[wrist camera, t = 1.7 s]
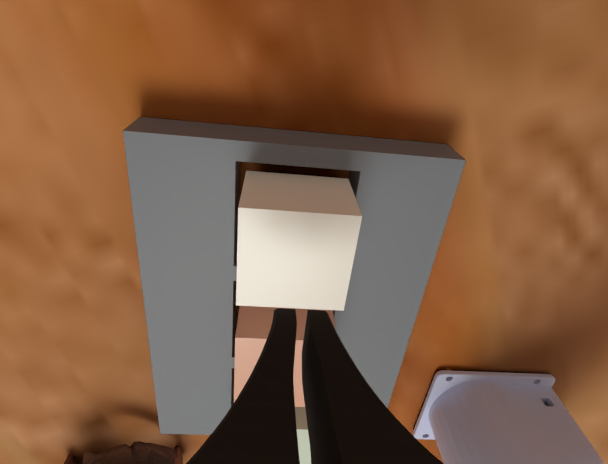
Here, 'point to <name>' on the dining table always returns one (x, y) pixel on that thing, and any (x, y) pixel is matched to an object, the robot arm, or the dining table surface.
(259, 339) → the terracotta key
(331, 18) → the dining table surface
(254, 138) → the grey rectangular frame
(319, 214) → the cream key
